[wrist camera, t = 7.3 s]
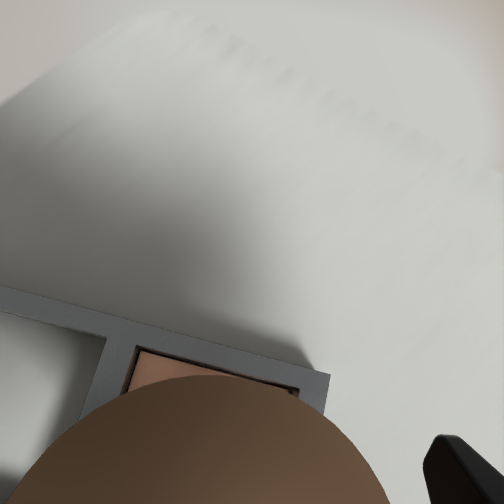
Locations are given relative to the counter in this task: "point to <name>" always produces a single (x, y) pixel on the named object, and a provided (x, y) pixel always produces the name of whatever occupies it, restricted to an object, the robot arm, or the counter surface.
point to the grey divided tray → (160, 341)
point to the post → (202, 451)
